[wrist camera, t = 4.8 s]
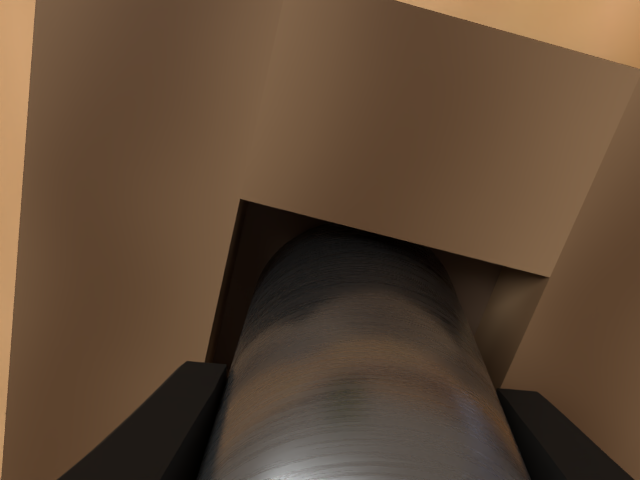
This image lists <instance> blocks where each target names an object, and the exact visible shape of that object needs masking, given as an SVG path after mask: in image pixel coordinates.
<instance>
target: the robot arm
mask: <svg viewBox="0 0 640 480" xmlns="http://www.w3.org/2000/svg"><path fill="white" fill-rule="evenodd" d="M226 379H227V364H217V363H205V362H194V361H186V362H185V363H183V364H182V365H181V366H179V367H178V368H177V369H176V370H175V371H174V372H173V373H172V374H171V375H170V376H169V377H168V378H167V379H166V380H165V381H164V382H163V383H162V384H161V385H160V386H159V387H158V388H157V389H156V390H155V391H154V392H153V393H152V394H151V395H150V396H149V397H148V398H147V399H146V400H145V401H144V402H143V403H142V404H141V405H140V406H139V407H138V408H137V409H136V410H135V411H134V412H133V413H132V414H131V415H130V416H129V417H128V418H127V419H125V420H124V421H123V422H122V423H121V424H120V425H119V426H118V427H117V428H116V429H115V430H113V431H112V432H111V433H110V434H109V435H108V436H107V437H106V438H105V439H104V440H103V441H101V442H100V443H99V444H98V445H97V446H96V447H95V448H94V449H93V450H91V451H90V452H89V453H88V454H87V455H86V456H85V457H83V458H82V459H81V460H80V461H79V462H77V463H76V464H75V465H74V466H73V467H71V468H70V469H69V470H68V471H66V472H65V473H64V474H63V475H62V476H60V477H59V478H58V479H57V480H196V479H197V476H198V472H199V469H200V466H201V463H202V459H203V456H204V453H205V450H206V446H207V443H208V440H209V436H210V433H211V430H212V427H213V423H214V420H215V417H216V414H217V410H218V407H219V404H220V401H221V397H222V394H223V391H224V388H225V384H226ZM496 393H497V396H498V398H499V401H500V403H501V406H502V408H503V411H504V413H505V416H506V418H507V421H508V423H509V426H510V428H511V431H512V433H513V436H514V438H515V441H516V443H517V446H518V448H519V451H520V453H521V456H522V458H523V461H524V463H525V466H526V468H527V471H528V473H529V476H530V478H531V480H634V479H633V478H632V477H631V476H630V475H629V474H628V473H627V472H625V471H624V470H623V469H622V468H621V467H620V466H619V465H618V464H617V463H616V462H614V461H613V460H612V459H611V458H610V457H609V456H608V455H607V454H606V453H605V452H604V451H603V450H601V449H600V448H599V447H598V446H597V445H596V444H595V443H594V442H593V441H592V440H591V439H590V438H589V437H587V436H586V435H585V434H584V433H583V432H582V431H581V430H580V429H579V428H578V427H577V426H576V425H575V424H573V423H572V422H571V421H570V420H569V419H568V418H567V417H566V416H565V415H564V414H563V413H562V412H560V411H559V410H558V409H557V408H556V407H555V406H554V405H553V404H552V403H550V402H549V401H548V400H547V399H546V398H545V397H543V396H542V395H541V394H540V393H539V392H537V391H526V390H515V389H503V388H497V389H496Z"/></svg>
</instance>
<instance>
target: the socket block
mask: <svg viewBox="0 0 640 480" xmlns="http://www.w3.org/2000/svg"><path fill="white" fill-rule="evenodd" d="M330 222H333V223H337V224H341V225H345V226H349V227H353V228H357V229H361V230H365V231H369V232H373V233H377V234H381V235H385V236H389V237H392V238H396V239H400V240H404V241H408V242H412V243H416V244H420V245H424V246H427V247H428V248H429V249H430V250H431V251H432V252H433V253H434V254H435V255H436V256H437V258H438V259H439V260H440V261H441V263H442V264H443V266H444V267H445V269H446V271H447V272H448V275H449V277H450V279H451V282H452V284H453V286H454V289H455V291H456V294H457V296H458V299H459V301H460V304H461V306H462V309H463V311H464V314H465V316H466V319H467V321H468V324H469V326H470V329H471V331H472V334H473V336H474V339H475V341H476V344H477V346H478V349H479V351H480V354H481V356H482V359H483V361H484V364H485V366H486V369H487V371H488V374H489V376H490V379H491V381H492V384H493V386H494V389H495V391H496V389H497V388H503V389H515V390H526V391H537V392H539V393H540V394H541V395H542V396H543V397H545V398H546V399H547V400H548V401H549V402H550V403H552V404H553V405H554V406H555V407H556V408H557V409H558V410H559V411H560V412H562V413H563V414H564V415H565V416H566V417H567V418H568V419H569V420H570V421H571V422H572V423H573V424H575V425H576V426H577V427H578V428H579V429H580V430H581V431H582V432H583V433H584V434H585V435H586V436H587V437H589V438H590V439H591V440H592V441H593V442H594V443H595V444H596V445H597V446H598V447H599V448H600V449H601V450H603V451H604V452H605V453H606V454H607V455H608V456H609V457H610V458H611V459H612V460H613V461H614V462H616V463H617V464H618V465H619V466H620V467H621V468H622V469H623V470H624V471H625V472H627V473H628V474H629V475H630V476H631V477H632V478H633V479H634V480H640V69H638V68H634V67H631V66H627V65H623V64H620V63H616V62H613V61H609V60H606V59H602V58H599V57H595V56H591V55H588V54H584V53H581V52H577V51H574V50H570V49H566V48H563V47H559V46H556V45H552V44H549V43H545V42H541V41H538V40H534V39H531V38H527V37H524V36H520V35H517V34H513V33H509V32H506V31H502V30H499V29H495V28H492V27H488V26H484V25H481V24H477V23H474V22H470V21H467V20H463V19H459V18H456V17H452V16H449V15H445V14H442V13H438V12H435V11H431V10H427V9H424V8H420V7H417V6H413V5H410V4H406V3H402V2H399V1H395V0H36V5H35V18H34V32H33V46H32V60H31V74H30V88H29V102H28V116H27V130H26V144H25V158H24V171H23V185H22V199H21V213H20V227H19V241H18V255H17V269H16V283H15V297H14V310H13V324H12V338H11V352H10V366H9V380H8V394H7V408H6V422H5V436H4V450H3V463H2V477H1V480H57V479H58V478H59V477H60V476H62V475H63V474H64V473H65V472H66V471H68V470H69V469H70V468H71V467H73V466H74V465H75V464H76V463H77V462H79V461H80V460H81V459H82V458H83V457H85V456H86V455H87V454H88V453H89V452H90V451H91V450H93V449H94V448H95V447H96V446H97V445H98V444H99V443H100V442H101V441H103V440H104V439H105V438H106V437H107V436H108V435H109V434H110V433H111V432H112V431H113V430H115V429H116V428H117V427H118V426H119V425H120V424H121V423H122V422H123V421H124V420H125V419H127V418H128V417H129V416H130V415H131V414H132V413H133V412H134V411H135V410H136V409H137V408H138V407H139V406H140V405H141V404H142V403H143V402H144V401H145V400H146V399H147V398H148V397H149V396H150V395H151V394H152V393H153V392H154V391H155V390H156V389H157V388H158V387H159V386H160V385H161V384H162V383H163V382H164V381H165V380H166V379H167V378H168V377H169V376H170V375H171V374H172V373H173V372H174V371H175V370H176V369H177V368H178V367H179V366H181V365H182V364H183V363H185V362H186V361H194V362H205V363H217V364H227V378H228V375H229V371H230V368H231V365H232V362H233V358H234V355H235V352H236V348H237V345H238V342H239V339H240V335H241V332H242V329H243V326H244V322H245V319H246V316H247V313H248V309H249V306H250V303H251V300H252V296H253V293H254V290H255V287H256V284H257V281H258V279H259V276H260V275H261V273H262V271H263V269H264V267H265V266H266V264H267V263H268V262H269V260H270V259H271V257H272V256H273V255H274V254H275V253H276V252H277V251H278V250H279V249H280V248H281V247H282V246H283V245H285V244H286V243H287V242H288V241H290V240H291V239H292V238H294V237H296V236H297V235H299V234H301V233H303V232H305V231H307V230H309V229H312V228H314V227H316V226H320V225H323V224H327V223H330ZM226 381H227V379H226Z"/></svg>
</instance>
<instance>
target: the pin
mask: <svg viewBox="0 0 640 480" xmlns="http://www.w3.org/2000/svg"><path fill="white" fill-rule="evenodd" d="M196 480H531V478H530V476H529V473H528V471H527V468H526V466H525V463H524V461H523V458H522V456H521V453H520V451H519V448H518V446H517V443H516V441H515V438H514V436H513V433H512V431H511V428H510V426H509V423H508V421H507V418H506V416H505V413H504V411H503V408H502V406H501V403H500V401H499V398H498V396H497V393H496V391H495V389H494V386H493V384H492V381H491V379H490V376H489V374H488V371H487V369H486V366H485V364H484V361H483V359H482V356H481V354H480V351H479V349H478V346H477V344H476V341H475V339H474V336H473V334H472V331H471V329H470V326H469V324H468V321H467V319H466V316H465V314H464V311H463V309H462V306H461V304H460V301H459V299H458V296H457V294H456V291H455V289H454V286H453V284H452V282H451V279H450V277H449V275H448V272H447V271H446V269H445V267H444V266H443V264H442V263H441V261H440V260H439V259H438V258H437V256H436V255H435V254H434V253H433V252H432V251H431V250H430V249H429V248H428V247H427V246H424V245H420V244H416V243H412V242H408V241H404V240H400V239H396V238H392V237H389V236H385V235H381V234H377V233H373V232H369V231H365V230H361V229H357V228H353V227H349V226H345V225H341V224H337V223H333V222H330V223H327V224H323V225H320V226H316V227H314V228H312V229H309V230H307V231H305V232H303V233H301V234H299V235H297V236H296V237H294V238H292V239H291V240H290V241H288V242H287V243H286V244H285V245H283V246H282V247H281V248H280V249H279V250H278V251H277V252H276V253H275V254H274V255H273V256H272V257H271V259H270V260H269V262H268V263H267V264H266V266H265V267H264V269H263V271H262V273H261V275H260V276H259V279H258V281H257V284H256V287H255V290H254V293H253V296H252V300H251V303H250V306H249V309H248V313H247V316H246V319H245V322H244V326H243V329H242V332H241V335H240V339H239V342H238V345H237V348H236V352H235V355H234V358H233V362H232V365H231V368H230V371H229V375H228V378H227V381H226V384H225V388H224V391H223V394H222V397H221V401H220V404H219V407H218V410H217V414H216V417H215V420H214V423H213V427H212V430H211V433H210V436H209V440H208V443H207V446H206V450H205V453H204V456H203V459H202V463H201V466H200V469H199V472H198V476H197V479H196Z"/></svg>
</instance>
